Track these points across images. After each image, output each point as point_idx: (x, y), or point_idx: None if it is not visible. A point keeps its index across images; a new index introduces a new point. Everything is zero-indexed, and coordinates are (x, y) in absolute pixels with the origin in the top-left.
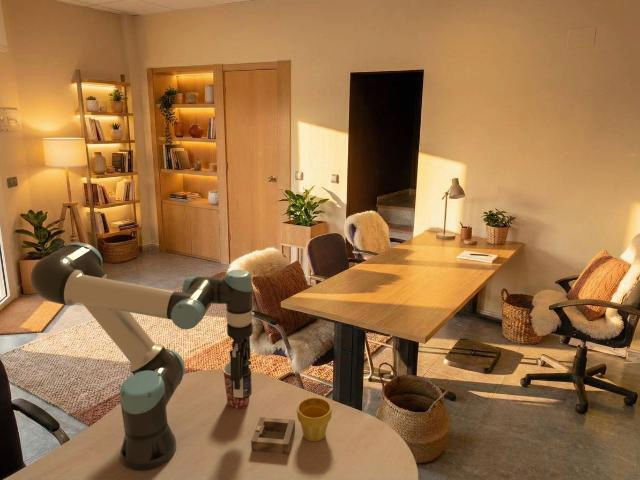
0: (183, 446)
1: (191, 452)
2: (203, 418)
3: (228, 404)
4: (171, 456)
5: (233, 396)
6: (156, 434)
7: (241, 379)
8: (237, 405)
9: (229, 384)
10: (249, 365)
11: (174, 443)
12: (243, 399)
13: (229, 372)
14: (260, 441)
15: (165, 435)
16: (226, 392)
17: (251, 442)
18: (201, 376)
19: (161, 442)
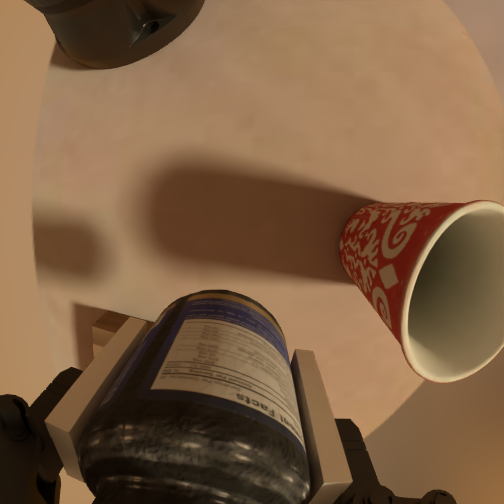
0: (134, 82)
1: (105, 117)
2: (286, 115)
3: (361, 209)
4: (91, 67)
5: (169, 305)
6: (34, 7)
7: (69, 468)
8: (342, 250)
9: (389, 237)
10: (472, 371)
11: (107, 56)
12: (354, 281)
13: (479, 231)
14: (94, 353)
15: (65, 25)
16: (388, 206)
17: (94, 324)
18: (500, 112)
19: (54, 29)
